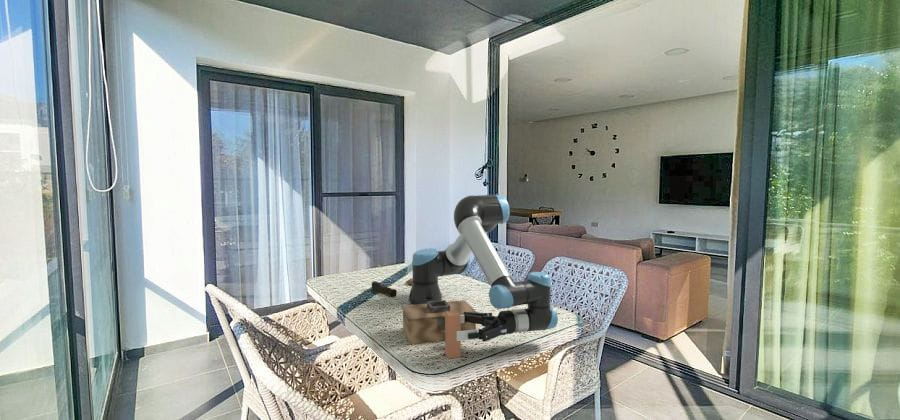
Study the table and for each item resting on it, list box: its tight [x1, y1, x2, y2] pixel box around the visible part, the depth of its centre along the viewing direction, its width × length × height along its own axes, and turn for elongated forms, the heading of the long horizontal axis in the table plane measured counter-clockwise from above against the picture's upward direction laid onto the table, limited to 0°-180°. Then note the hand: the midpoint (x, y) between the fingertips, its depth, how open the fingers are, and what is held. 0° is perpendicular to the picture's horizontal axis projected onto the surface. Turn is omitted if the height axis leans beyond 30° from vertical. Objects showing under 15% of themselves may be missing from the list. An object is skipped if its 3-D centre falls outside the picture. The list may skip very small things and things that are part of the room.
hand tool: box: [371, 280, 398, 298], centre depth 200 cm, size 19×4×5 cm, turn 41°
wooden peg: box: [444, 310, 462, 359], centre depth 131 cm, size 4×4×14 cm
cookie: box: [406, 277, 413, 287], centre depth 217 cm, size 10×11×3 cm
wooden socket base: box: [401, 299, 478, 345], centre depth 149 cm, size 25×15×11 cm, turn 106°
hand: (450, 328), depth 130 cm, fingers open, 13 cm apart
